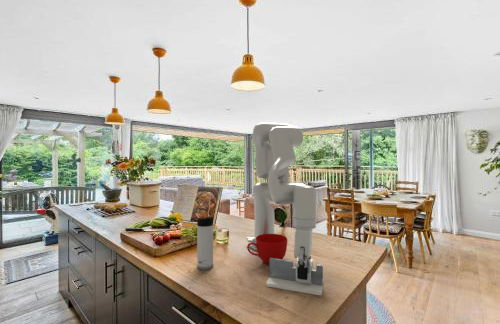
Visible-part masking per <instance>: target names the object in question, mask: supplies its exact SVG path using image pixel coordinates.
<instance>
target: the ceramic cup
mask: <svg viewBox="0 0 500 324" xmlns="http://www.w3.org/2000/svg"><path fill="white" fill-rule="evenodd" d="M252 244H253V245H255V246H256V248H257V251H256V252H257V253H256V252H253V251H251V250H250V246H252ZM287 247H288V237H286V236H285V235H282V234H279V233H274V234H262V235H259V236H257V237H256V243H253V242H248V244H247V246H246V250H247V252H248V253H250V254H251V255H253V256H256V257H259V259H260V260H261V261H262V262H263V263H264V264H265V265H268V266H270V258H276V259H283V260H284V257H285V255H286V252H287Z"/></svg>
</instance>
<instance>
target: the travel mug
mask: <svg viewBox="0 0 500 324" xmlns="http://www.w3.org/2000/svg"><path fill="white" fill-rule="evenodd" d="M196 223H197V224H196V226H197V227H196V228H197V229H196V234H197V235H196V236H197V237H196V238H197V239H196V241H197V242H196V244H197V245H196V251H197V252H196V254H197V255H196V256H197V257H196V264H197V265H196V266H197V267H196V268H197V269H198V270H201V271H202V270H204V271H206V270H210V269H212V268H213V267H214V217H213V216H205V217H198V218H197V222H196Z"/></svg>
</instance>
